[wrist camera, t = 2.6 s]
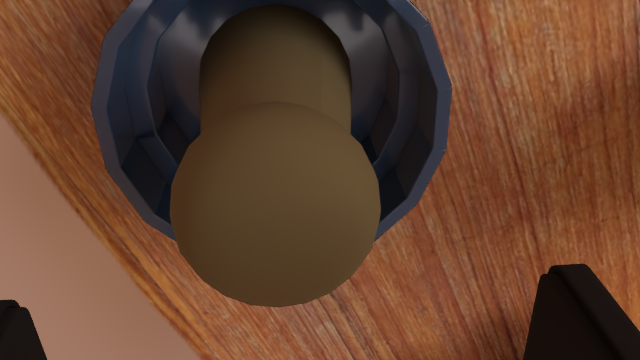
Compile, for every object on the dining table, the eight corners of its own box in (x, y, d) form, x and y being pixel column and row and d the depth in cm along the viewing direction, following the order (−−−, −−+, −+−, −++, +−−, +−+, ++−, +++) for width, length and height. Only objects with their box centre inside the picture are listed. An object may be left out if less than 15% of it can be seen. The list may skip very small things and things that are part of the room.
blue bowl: (158, 207, 25) (133, 279, 20) (100, -70, 19) (49, -52, 15) (409, 191, 25) (437, 258, 21) (424, -84, 20) (467, -70, 15)
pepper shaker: (262, 175, 24) (253, 380, 14) (165, 65, 21) (76, 226, 12) (380, 97, 23) (457, 266, 13) (293, -31, 20) (309, 64, 10)
